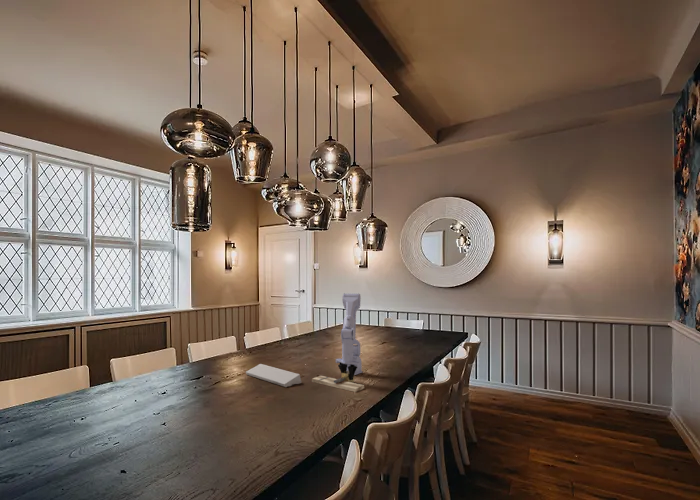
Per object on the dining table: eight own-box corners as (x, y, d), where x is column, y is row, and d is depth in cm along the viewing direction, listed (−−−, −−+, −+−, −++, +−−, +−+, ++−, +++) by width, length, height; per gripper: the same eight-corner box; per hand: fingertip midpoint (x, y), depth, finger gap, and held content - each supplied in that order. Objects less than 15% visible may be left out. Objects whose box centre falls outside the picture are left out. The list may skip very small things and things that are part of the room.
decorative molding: (286, 393, 184) (301, 383, 191) (284, 384, 183) (299, 374, 190) (247, 380, 206) (262, 371, 214) (245, 371, 206) (260, 363, 213)
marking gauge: (347, 380, 194) (347, 370, 194) (353, 381, 192) (353, 371, 192) (332, 386, 184) (332, 375, 184) (338, 387, 182) (338, 377, 182)
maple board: (320, 378, 198) (320, 375, 198) (364, 388, 181) (364, 385, 181) (311, 381, 192) (311, 378, 193) (355, 392, 175) (355, 388, 176)
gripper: (331, 351, 193) (331, 378, 192) (354, 355, 184) (354, 383, 183) (340, 349, 199) (340, 375, 198) (362, 352, 190) (362, 380, 189)
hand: (347, 379), depth 191 cm, fingers closed on marking gauge, 4 cm apart
